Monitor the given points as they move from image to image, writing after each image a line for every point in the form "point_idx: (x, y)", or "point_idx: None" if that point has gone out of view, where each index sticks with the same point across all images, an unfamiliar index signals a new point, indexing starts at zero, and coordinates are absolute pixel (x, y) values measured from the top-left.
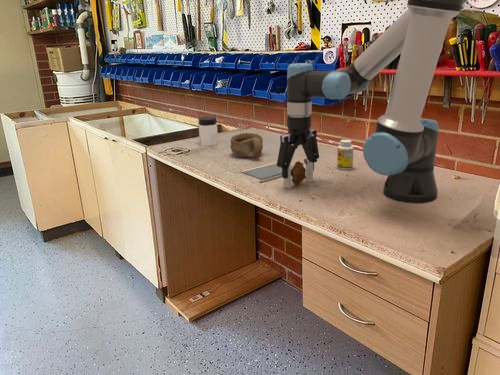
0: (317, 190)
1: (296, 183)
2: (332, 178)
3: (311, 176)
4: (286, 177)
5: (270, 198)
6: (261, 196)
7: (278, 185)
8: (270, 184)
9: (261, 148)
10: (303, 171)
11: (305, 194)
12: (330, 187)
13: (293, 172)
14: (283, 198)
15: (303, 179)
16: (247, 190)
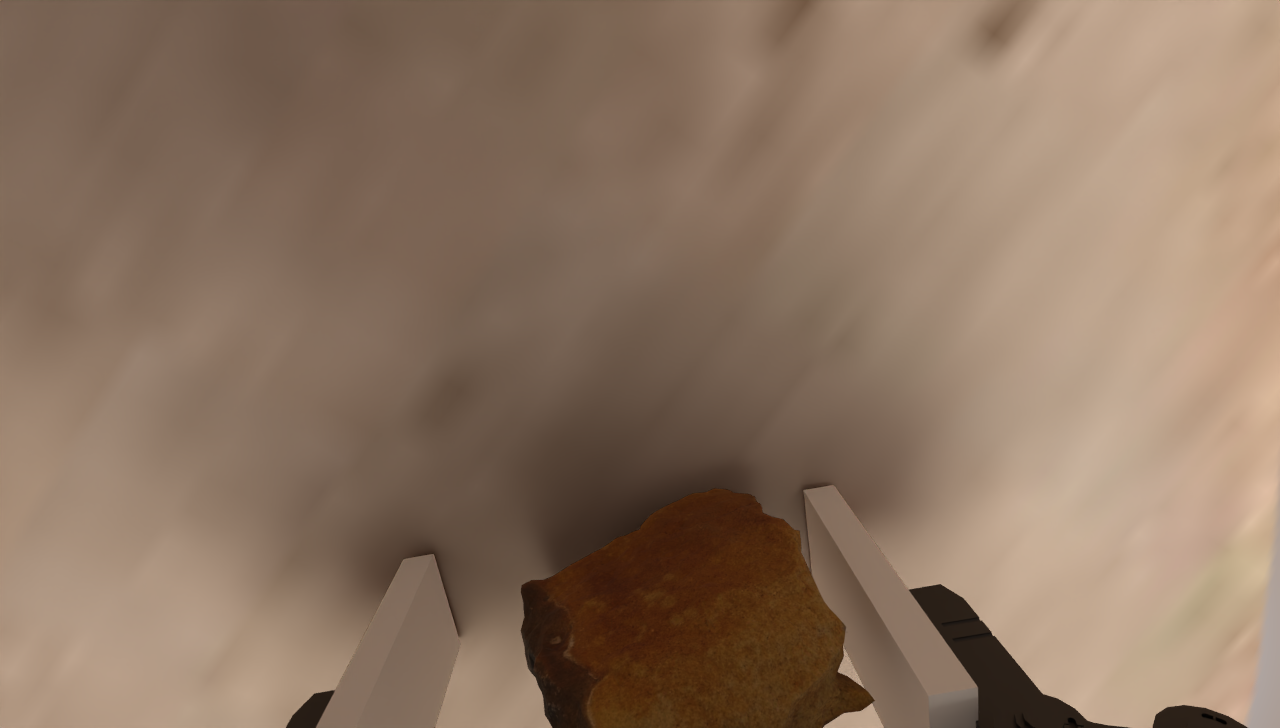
0: (540, 247)
1: (740, 499)
2: (73, 541)
3: (408, 601)
4: (925, 596)
5: (1226, 321)
6: (1251, 434)
7: None
8: None
9: None
10: (589, 638)
11: (781, 202)
12: (298, 252)
13: (835, 626)
14: (1110, 232)
15: (574, 567)
16: (1219, 665)
